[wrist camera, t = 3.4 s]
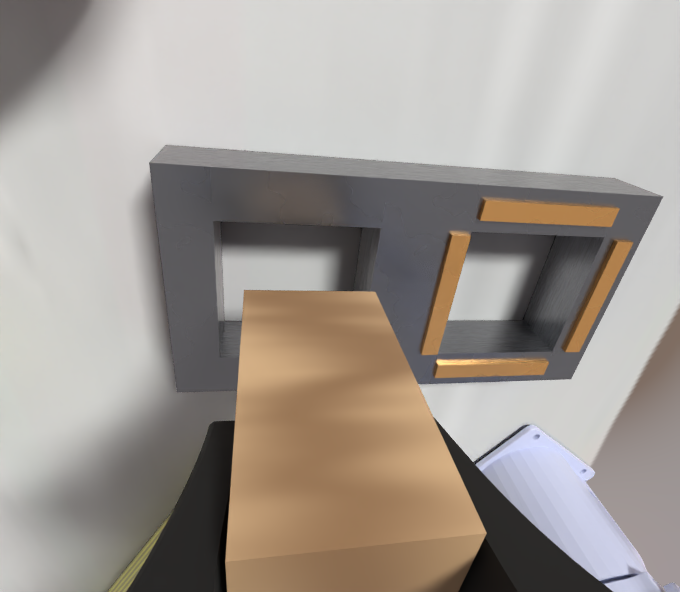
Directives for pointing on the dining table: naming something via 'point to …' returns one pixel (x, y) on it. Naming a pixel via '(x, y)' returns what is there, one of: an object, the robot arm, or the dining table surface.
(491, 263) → the dining table surface
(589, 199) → the grey slotted holder
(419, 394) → the wooden block
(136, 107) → the dining table surface
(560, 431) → the dining table surface
